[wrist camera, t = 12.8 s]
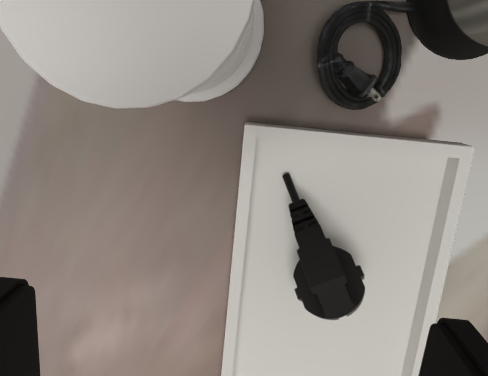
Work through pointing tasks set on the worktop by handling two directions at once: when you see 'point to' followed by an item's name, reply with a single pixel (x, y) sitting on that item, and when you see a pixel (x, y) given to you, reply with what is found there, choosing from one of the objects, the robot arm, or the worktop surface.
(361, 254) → the tray
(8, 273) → the worktop surface
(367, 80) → the milk frother
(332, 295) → the power plug
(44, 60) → the decorative container
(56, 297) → the worktop surface
